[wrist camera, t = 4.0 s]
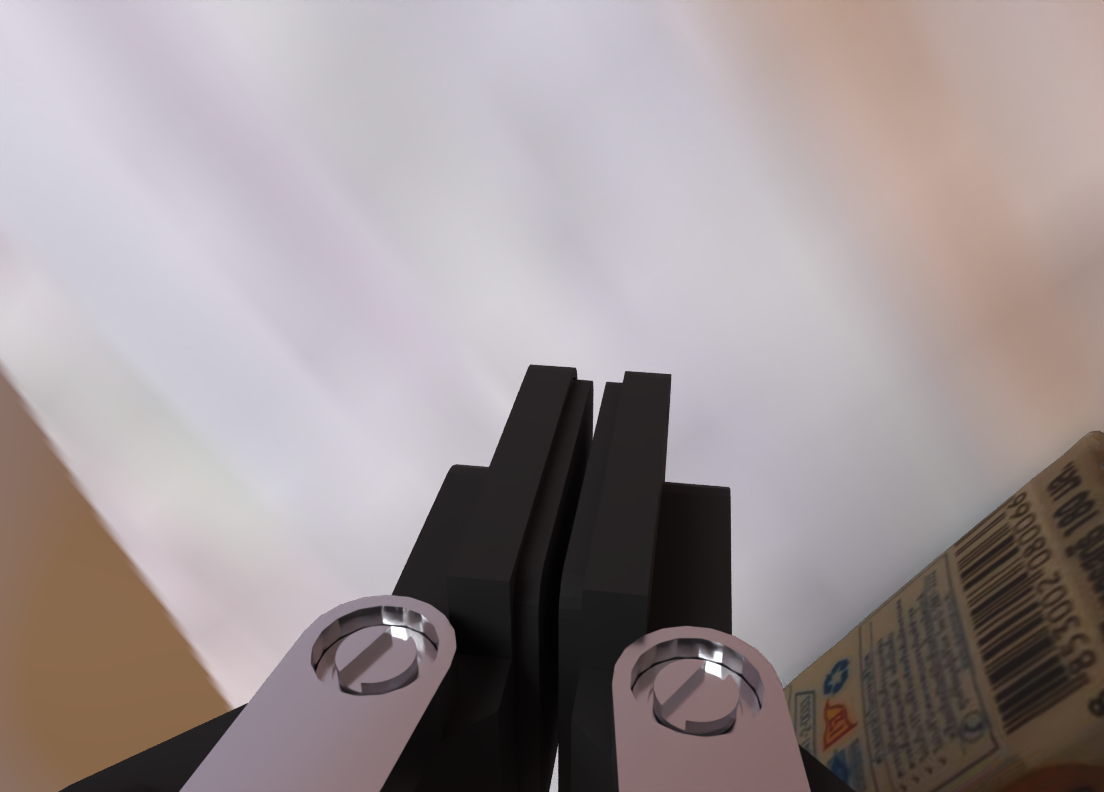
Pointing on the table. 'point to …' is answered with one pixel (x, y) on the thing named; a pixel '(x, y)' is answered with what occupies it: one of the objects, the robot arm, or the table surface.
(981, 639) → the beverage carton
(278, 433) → the table surface
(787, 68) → the table surface
